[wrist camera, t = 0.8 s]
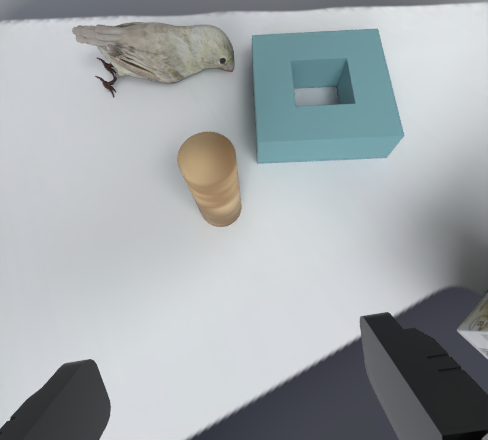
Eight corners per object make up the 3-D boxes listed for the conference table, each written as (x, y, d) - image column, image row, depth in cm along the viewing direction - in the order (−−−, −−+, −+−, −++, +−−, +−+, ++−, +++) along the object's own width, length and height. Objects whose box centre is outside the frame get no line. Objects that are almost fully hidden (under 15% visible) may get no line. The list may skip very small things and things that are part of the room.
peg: (200, 227, 30) (176, 184, 20) (201, 190, 31) (178, 133, 22) (241, 225, 30) (236, 181, 20) (240, 188, 31) (234, 130, 22)
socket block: (257, 163, 32) (257, 142, 28) (252, 64, 37) (252, 35, 33) (386, 157, 32) (404, 135, 28) (364, 59, 36) (377, 28, 33)
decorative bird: (237, 88, 36) (232, 31, 29) (106, 103, 36) (70, 49, 29) (232, 54, 38) (227, -7, 31) (108, 69, 38) (74, 11, 31)
